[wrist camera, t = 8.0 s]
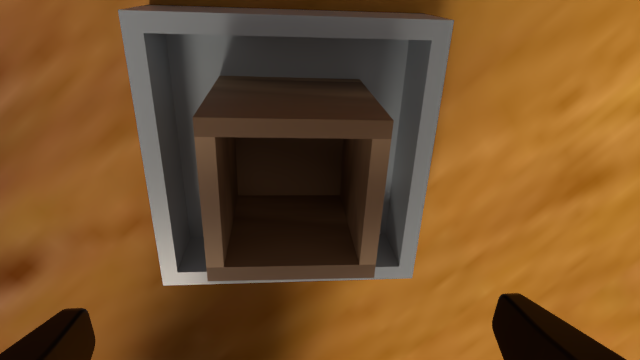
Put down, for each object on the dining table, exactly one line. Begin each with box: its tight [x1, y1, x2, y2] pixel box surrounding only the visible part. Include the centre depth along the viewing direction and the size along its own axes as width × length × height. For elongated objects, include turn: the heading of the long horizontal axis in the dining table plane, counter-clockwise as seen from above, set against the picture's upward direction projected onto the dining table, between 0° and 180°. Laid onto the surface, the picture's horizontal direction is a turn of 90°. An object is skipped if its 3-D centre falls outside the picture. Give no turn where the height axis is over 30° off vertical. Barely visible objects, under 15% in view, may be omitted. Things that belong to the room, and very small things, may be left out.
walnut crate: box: [192, 76, 394, 281], centre depth 16 cm, size 6×6×6 cm
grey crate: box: [118, 5, 454, 286], centre depth 18 cm, size 11×11×4 cm
